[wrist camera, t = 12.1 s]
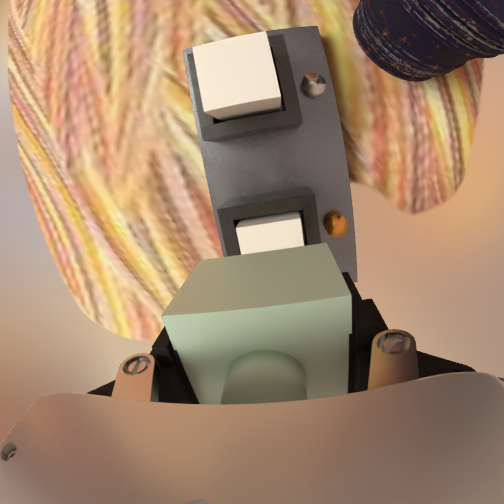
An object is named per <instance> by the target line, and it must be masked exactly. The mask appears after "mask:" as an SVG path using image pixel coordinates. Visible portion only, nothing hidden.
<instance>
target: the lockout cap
mask: <svg viewBox="0 0 504 504" xmlns="http://www.w3.org/2000/svg"><path fill="white" fill-rule="evenodd" d="M161 317H162V320H163V322H164V325H165V328H166V330H167V333H168V335H169V338H170V341H171V343H172V346H173V348H174V350H177V352H178V355H179V357H180V360H181V362H182V364H183V367H184V369H185V372H186V374H187V376H188V379H189V381H190V383H191V385H192V388H193V390H194V392H195V394H196V396H197V399H198V401H199V403H200V404H207V405H230V404H259V403H275V402H287V401H297V400H306V399H314V398H322V397H329V396H336V395H343V394H348V367H349V334H351V333H352V299H351V293H350V291H349V289H348V286H347V284H346V282H345V280H344V278H343V276H342V274H341V271H340V269H339V267H338V265H337V263H336V261H335V259H334V257H333V255H332V253H331V251H330V249H329V247H328V245H327V243H321V244H314V245H307V246H300V247H293V248H286V249H278V250H271V251H264V252H257V253H250V254H243V255H236V256H229V257H221V258H214V259H207V260H200V261H199V263H198V264H197V265H196V267H195V268H194V270H193V271H192V273H191V274H190V275H189V277H188V278H187V280H186V281H185V282H184V284H183V285H182V287H181V288H180V290H179V291H178V292H177V294H176V295H175V297H174V298H173V300H172V301H171V302H170V304H169V305H168V307H167V308H166V310H165V311H164V313H163V314H162V316H161Z"/></svg>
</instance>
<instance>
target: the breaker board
mask: <svg viewBox="0 0 504 504" xmlns="http://www.w3.org/2000/svg"><path fill="white" fill-rule="evenodd" d="M264 32H265V31H264ZM266 34H267V38H268V42H269V46H270V50H271V54H272V58H273V63H274V67H275V72H276V76H277V81H278V85H279V90H280V95H281V107H280V111H275V112H269V113H263V114H257V115H252V116H246V117H241V118H236V119H231V120H227V121H220V120H219V119H217V118H215V117H213V116H211V115H209V114H207V113H205V112H204V110H203V104H202V99H201V94H200V88H199V83H198V77H197V72H196V66H195V61H194V55H193V49H192V48H189V49H185V50H183V55H184V61H185V67H186V73H187V79H188V84H189V90H190V96H191V101H192V106H193V112H194V117H195V122H196V128H197V133H198V138H199V143H200V148H201V153H202V158H203V163H204V168H205V173H206V178H207V183H208V187H209V192H210V197H211V202H212V206H213V211H214V216H215V220H216V225H217V229H218V234H219V238H220V243H221V247H222V252H223V256H224V257H229V256H236V255H241V251H240V246H239V241H238V236H237V232H236V227H237V225H238V223H239V222H240V220H241V219H243V218H249V217H256V216H262V215H268V214H275V213H281V212H288V211H295V210H298V212H299V216H300V219H301V226H302V233H303V241H304V246H307V245H314V244H321V243H327V245H328V247H329V249H330V251H331V253H332V255H333V257H334V259H335V261H336V263H337V265H338V267H339V269H340V271H341V273H342V272H348V273H349V275H350V277H351V279H352V281H353V283H354V282H357V262H356V244H355V231H354V218H353V208H352V199H351V190H350V181H349V173H348V166H347V159H346V152H345V146H344V140H343V134H342V128H341V123H340V117H339V112H338V107H337V102H336V97H335V93H334V88H333V84H332V79H331V75H330V71H329V67H328V63H327V59H326V55H325V51H324V48H323V44H322V41H321V37H320V34H319V30H318V27H317V26H309V27H297V28H287V29H279V30H271V31H266ZM214 42H215V41H214Z"/></svg>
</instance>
